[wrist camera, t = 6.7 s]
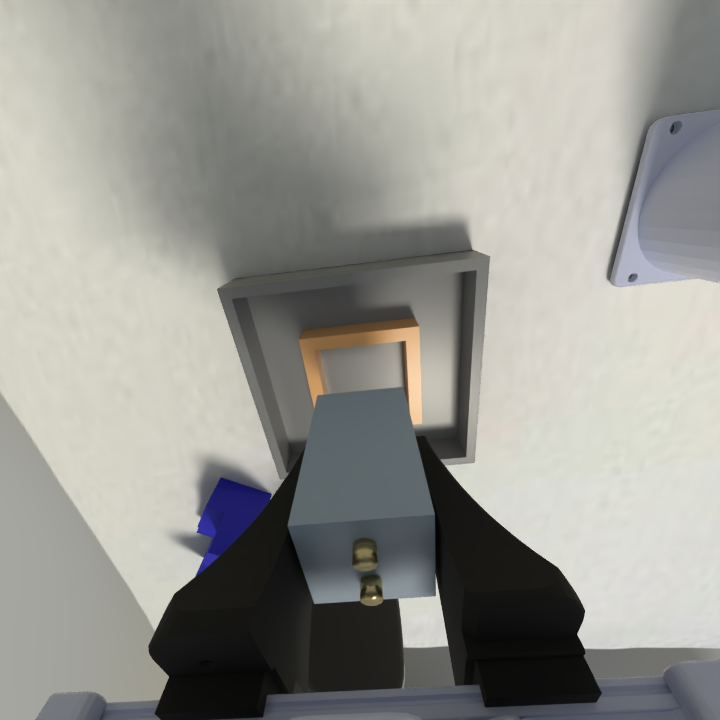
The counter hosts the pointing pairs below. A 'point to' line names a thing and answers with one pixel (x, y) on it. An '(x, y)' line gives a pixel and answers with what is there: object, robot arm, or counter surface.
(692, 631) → the counter surface
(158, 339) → the counter surface
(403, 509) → the connector plug
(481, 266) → the box
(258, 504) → the cable clip
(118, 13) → the counter surface
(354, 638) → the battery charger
